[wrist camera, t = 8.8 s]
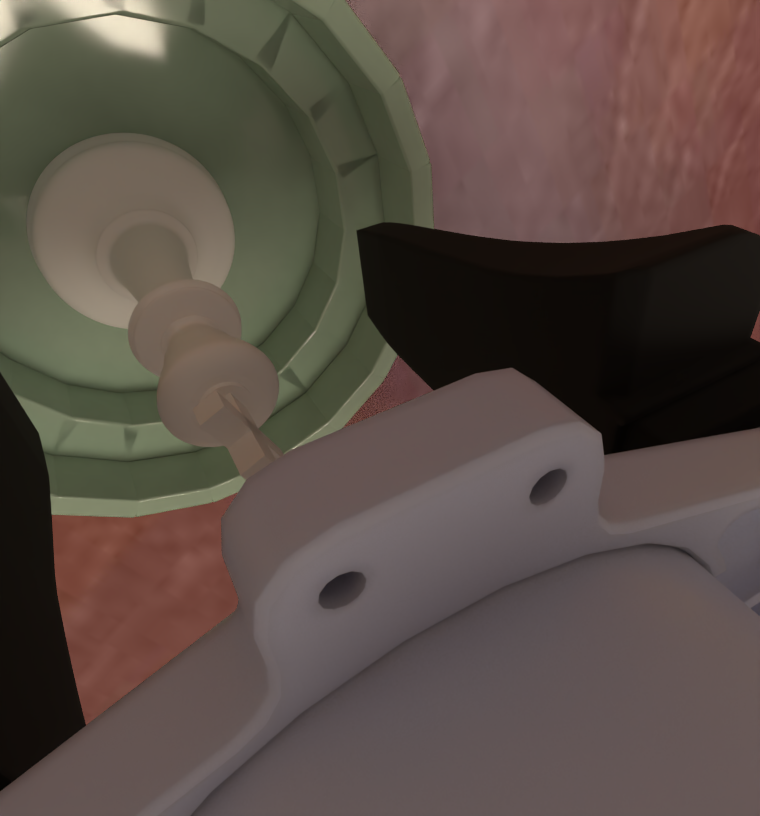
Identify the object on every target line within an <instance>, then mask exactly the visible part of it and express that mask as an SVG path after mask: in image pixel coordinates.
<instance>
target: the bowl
mask: <svg viewBox="0 0 760 816" xmlns="http://www.w3.org/2000/svg"><path fill="white" fill-rule="evenodd" d="M399 76H400V75H399V72H398V71H397V70H396V68H395V67H394V66H393V64H392V63H391V62H390V60H389V59H388V57H387V56H386V55H385V53H384V52H383V51H382V49H381V48H380V47H379V45H378V44H377V43H376V41H375V40H374V38H373V37H372V36H371V34H370V33H369V32H368V30H367V29H366V28H365V26H364V25H363V23H362V22H361V21H360V19H359V18H358V17H357V15H356V14H355V13H354V11H353V10H352V9H351V7H350V6H349V4H348V3H347V2H346V0H0V372H1V374H2V376H3V377H4V379H5V380H6V382H7V384H8V385H9V387H10V388H11V390H12V391H13V393H14V395H15V396H16V398H17V399H18V401H19V402H20V404H21V406H22V407H23V409H24V410H25V412H26V414H27V415H28V417H29V418H30V420H31V421H32V423H33V425H34V426H35V428H36V429H37V431H38V433H39V435H40V439H41V443H42V447H43V451H44V455H45V460H46V464H47V469H48V473H49V482H50V496H51V513H52V515H75V516H103V517H131V518H133V517H135V516H136V517H139V516H144V515H150V514H155V513H160V512H166V511H171V510H176V509H181V508H187V507H192V506H197V505H202V504H208V503H211V502H212V501H213V502H216V501H218V500H221V499H223V498H225V497H228V496H230V495H232V494H235V493H237V492H239V491H240V489H241V487H242V486H243V484H244V483H245V481H246V479H244V478H243V477H242V476H241V475H240V473H239V471H238V469H237V467H236V465H235V463H234V461H233V459H232V457H231V455H230V453H229V451H228V449H227V448H226V447H225V446H219V447H201V446H195V445H192V444H189V443H186V442H184V441H182V440H180V439H178V438H177V437H175V436H174V435H173V434H172V433H171V432H170V431H169V430H168V429H167V428H166V427H165V425H164V424H163V422H162V420H161V418H160V416H159V413H158V408H157V388H158V382H159V378H160V377H158V376H156V375H155V374H153V373H152V372H150V371H149V370H147V369H146V368H145V367H144V366H142V365H141V364H140V363H139V361H138V360H137V359H136V357H135V356H134V354H133V352H132V350H131V348H130V345H129V341H128V329H123V328H117V327H113V326H109V325H105V324H102V323H100V322H97V321H95V320H92V319H90V318H88V317H86V316H84V315H83V314H81V313H79V312H78V311H76V310H75V309H73V308H72V307H71V306H69V305H68V304H67V303H66V302H65V301H63V300H62V299H61V298H60V297H59V296H58V295H57V294H56V292H55V291H54V290H53V289H52V288H51V286H50V285H49V283H48V282H47V281H46V279H45V277H44V276H43V274H42V273H41V271H40V270H39V268H38V266H37V264H36V262H35V260H34V258H33V255H32V252H31V249H30V246H29V242H28V237H27V228H26V216H27V208H28V203H29V199H30V195H31V192H32V190H33V188H34V185H35V183H36V181H37V180H38V178H39V176H40V175H41V173H42V172H43V170H44V169H45V168H46V167H47V165H48V164H49V163H50V162H51V161H52V160H53V159H54V158H55V157H56V156H58V155H59V154H60V153H61V152H63V151H64V150H66V149H67V148H69V147H70V146H72V145H74V144H76V143H78V142H80V141H82V140H85V139H88V138H91V137H94V136H98V135H103V134H109V133H137V134H144V135H148V136H152V137H156V138H159V139H162V140H164V141H167V142H169V143H171V144H173V145H175V146H177V147H179V148H181V149H182V150H184V151H186V152H187V153H188V154H190V155H191V156H193V157H194V158H195V159H196V160H197V161H198V162H200V163H201V164H202V165H203V166H204V167H205V168H206V170H207V171H208V172H209V173H210V174H211V176H212V177H213V178H214V180H215V181H216V183H217V184H218V186H219V188H220V189H221V191H222V193H223V195H224V198H225V200H226V202H227V205H228V207H229V210H230V213H231V216H232V220H233V225H234V232H235V249H234V256H233V261H232V265H231V268H230V271H229V273H228V275H227V278H226V280H225V281H224V283H223V285H222V286H221V288H220V289H222V290H223V291H224V292H226V293H227V294H228V295H229V296H230V297H231V299H232V300H233V301H234V303H235V304H236V306H237V308H238V311H239V314H240V317H241V340H243V341H245V342H247V343H249V344H251V345H253V346H255V347H256V348H258V349H259V350H260V351H262V352H263V353H264V354H265V355H266V356H267V357H268V358H269V359H270V361H271V362H272V364H273V365H274V367H275V369H276V372H277V375H278V380H279V394H278V399H277V402H276V405H275V407H274V409H273V411H272V413H271V415H270V416H269V418H268V419H267V420H266V421H265V423H264V424H263V425H262V426H261V427H260V428H259V430H260V431H261V432H262V433H263V434H265V435H266V436H267V437H268V438H269V439H270V440H271V441H272V442H273V443H274V444H275V445H277V446H278V447H279V448H280V449H281V451H282V452H283V454H286V453H287V452H289V451H290V450H292V449H295V448H297V447H299V446H302V445H304V444H307V443H309V442H311V441H314V440H316V439H319V438H321V437H323V436H326V435H328V434H331V433H333V432H336V431H338V430H340V429H342V428H343V427H344V426H345V425H346V423H347V422H348V421H349V420H350V419H351V418H352V417H353V415H354V414H355V413H356V412H357V411H358V410H359V409H360V407H361V406H362V405H363V404H364V403H365V402H366V401H367V399H368V398H369V397H370V396H371V395H372V394H373V393H374V391H375V390H376V389H377V388H378V387H379V386H380V385H381V383H382V382H383V381H384V378H386V376H387V374H388V372H389V370H390V368H391V366H392V365H393V363H394V361H395V359H396V357H397V355H398V354H397V353H396V352H395V351H394V350H393V349H392V348H391V347H390V346H389V345H388V343H387V342H386V341H385V339H384V338H383V337H382V335H381V334H380V333H379V331H378V330H377V328H376V327H375V325H374V324H373V322H372V321H371V320H370V318H369V317H368V315H367V307H366V300H365V292H364V285H363V277H362V270H361V262H360V255H359V247H358V240H357V232H356V230H359V229H362V228H366V227H369V226H372V225H375V224H378V223H382V222H393V223H402V224H409V225H415V226H421V227H426V228H432V229H434V216H433V194H432V171H431V163H430V159H429V156H428V153H427V150H426V147H425V145H424V142H423V139H422V136H421V133H420V130H419V127H418V124H417V121H416V118H415V115H414V113H413V110H412V107H411V104H410V101H409V98H408V95H407V92H406V89H405V86H404V83H403V81H402V78H401V77H399Z"/></svg>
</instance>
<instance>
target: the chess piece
mask: <svg viewBox="0 0 760 816" xmlns="http://www.w3.org/2000/svg"><path fill="white" fill-rule="evenodd" d="M26 228H27V237H28V242H29V246H30V249H31V252H32V255H33V258H34V260H35V262H36V264H37V266H38V268H39V270H40V271H41V273H42V274H43V276H44V277H45V279H46V281H47V282H48V283H49V285H50V286H51V288H52V289H53V290H54V291H55V292H56V294H57V295H58V296H59V297H60V298H61V299H62V300H63V301H65V302H66V303H67V304H68V305H69V306H71V307H72V308H73V309H75V310H76V311H78V312H79V313H81V314H83V315H84V316H86V317H88V318H90V319H92V320H95V321H97V322H100V323H102V324H105V325H109V326H113V327H117V328H123V329H128V341H129V345H130V348H131V350H132V352H133V354H134V356H135V357H136V359H137V360H138V361H139V363H140V364H141V365H142V366H144V367H145V368H146V369H147V370H149V371H150V372H152V373H153V374H155V375H156V376H158V377H160V378H159V382H158V388H157V408H158V413H159V416H160V418H161V420H162V422H163V424H164V425H165V427H166V428H167V429H168V430H169V431H170V432H171V433H172V434H173V435H174V436H175V437H177V438H178V439H180V440H182V441H184V442H186V443H189V444H192V445H195V446H201V447H219V446H225V447H226V448H227V449H228V451H229V453H230V455H231V457H232V459H233V461H234V463H235V465H236V467H237V469H238V471H239V473H240V475H241V476H242V477H243V478H244V479H246V480H247V479H248V478H249V477H251V476H252V475H254V474H255V473H257V472H258V471H260V470H262V469H263V468H265V467H266V466H268V465H269V464H271V463H272V462H274V461H275V460H277V459H278V458H280V457H281V456H283V455H284V454H283V452H282V451H281V449H280V448H279V447H278V446H277V445H275V444H274V443H273V442H272V441H271V440H270V439H269V438H268V437H267V436H266V435H265V434H263V433H262V432H261V431H260V430H259V428H260V427H261V426H262V425H263V424H264V423H265V421H266V420H267V419H268V418H269V416H270V415H271V413H272V411H273V409H274V407H275V405H276V402H277V399H278V394H279V380H278V375H277V372H276V369H275V367H274V365H273V364H272V362H271V361H270V359H269V358H268V357H267V356H266V355H265V354H264V353H263V352H262V351H260V350H259V349H258V348H256V347H255V346H253V345H251V344H249V343H247V342H245V341H243V340H241V317H240V314H239V311H238V308H237V306H236V304H235V303H234V301H233V300H232V299H231V297H230V296H229V295H228V294H227V293H226V292H224V291H223V290H222V289H220V288H221V286H222V285H223V283H224V281H225V280H226V278H227V275H228V273H229V271H230V268H231V265H232V261H233V256H234V249H235V232H234V225H233V220H232V216H231V213H230V210H229V207H228V205H227V202H226V200H225V198H224V195H223V193H222V191H221V189H220V188H219V186H218V184H217V183H216V181H215V180H214V178H213V177H212V176H211V174H210V173H209V172H208V171H207V170H206V168H205V167H204V166H203V165H202V164H201V163H200V162H198V161H197V160H196V159H195V158H194V157H193V156H191V155H190V154H188V153H187V152H186V151H184V150H182V149H181V148H179V147H177V146H175V145H173V144H171V143H169V142H167V141H164V140H162V139H159V138H156V137H152V136H148V135H144V134H137V133H109V134H103V135H98V136H94V137H91V138H88V139H85V140H82V141H80V142H78V143H76V144H74V145H72V146H70V147H69V148H67V149H66V150H64V151H63V152H61V153H60V154H59V155H58V156H56V157H55V158H54V159H53V160H52V161H51V162H50V163H49V164H48V165H47V167H46V168H45V169H44V170H43V172H42V173H41V175H40V176H39V178H38V180H37V181H36V183H35V185H34V188H33V190H32V192H31V195H30V199H29V203H28V208H27V216H26Z"/></svg>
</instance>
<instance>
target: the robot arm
mask: <svg viewBox="0 0 760 816" xmlns="http://www.w3.org/2000/svg"><path fill="white" fill-rule="evenodd" d="M356 232H357V240H358V247H359V255H360V262H361V270H362V277H363V285H364V292H365V300H366V307H367V315H368V317H369V318H370V320H371V321H372V322H373V324H374V325H375V327H376V328H377V330H378V331H379V333H380V334H381V335H382V337H383V338H384V339H385V341H386V342H387V343H388V345H389V346H390V347H391V348H392V349H393V350H394V351H395V352H396V353H397V354H398V355H399V356H400V357H401V358H402V359H403V360H404V361H405V362H406V363H407V365H408V366H409V367H410V368H411V369H412V370H413V371H414V372H416V373H417V374H418V375H419V376H420V377H421V378H422V379H423V380H424V381H425V382H426V383H427V384H428V385H429V386H430V387H431V388H432V389H433V390H434V391H432V392H429V393H427V394H425V395H422V396H420V397H417V398H415V399H413V400H410V401H408V402H405V403H403V404H401V405H398V406H396V407H393V408H391V409H388V410H386V411H384V412H381V413H379V414H376V415H374V416H372V417H369V418H367V419H364V420H362V421H360V422H357V423H355V424H352V425H350V426H348V427H345V428H343V429H340V430H338V431H336V432H333V433H331V434H328V435H326V436H323V437H321V438H319V439H316V440H314V441H311V442H309V443H307V444H304V445H302V446H299V447H297V448H295V449H292V450H290V451H289V452H287V453H286V454H284V455H283V456H281V457H280V458H278V459H277V460H275V461H274V462H272V463H271V464H269V465H268V466H266V467H265V468H263V469H262V470H260V471H258V472H257V473H255V474H254V475H252V476H251V477H249V478H248V479H247V480H246V481H245V483H244V484H243V486H242V487H241V489H240V491H239V492H238V494H237V495H236V497H235V498H234V500H233V501H232V503H231V504H230V506H229V507H228V509H227V510H226V512H225V514H224V515H223V517H222V518H221V532H222V556H223V559H224V561H225V564H226V566H227V569H228V572H229V574H230V577H231V580H232V582H233V585H234V587H235V590H236V593H237V595H238V599H239V600H238V605H237V608H236V610H235V611H234V612H233V613H232V614H230V615H229V616H228V617H226V618H225V619H224V620H223V621H221V622H220V623H219V624H217V625H216V626H215V627H213V628H212V629H211V630H210V631H208V632H207V633H206V634H204V635H203V636H202V637H200V638H199V639H198V640H197V641H195V642H194V643H193V644H191V645H190V646H189V647H187V648H186V649H185V650H184V651H182V652H181V653H180V654H178V655H177V656H176V657H174V658H173V659H172V660H171V661H169V662H168V663H167V664H165V665H164V666H163V667H161V668H160V669H159V670H158V671H156V672H155V673H154V674H152V675H151V676H150V677H148V678H147V679H146V680H145V681H143V682H142V683H141V684H139V685H138V686H137V687H135V688H134V689H133V690H132V691H130V692H129V693H128V694H126V695H125V696H124V697H122V698H121V699H120V700H119V701H117V702H116V703H115V704H113V705H112V706H111V707H109V708H108V709H107V710H106V711H104V712H103V713H102V714H100V715H99V716H98V717H96V718H95V719H94V720H93V721H91V722H90V723H89V724H87V725H86V724H85V720H84V716H83V712H82V708H81V704H80V700H79V696H78V691H77V687H76V683H75V678H74V674H73V669H72V665H71V660H70V656H69V651H68V646H67V642H66V637H65V632H64V627H63V622H62V617H61V612H60V606H59V601H58V596H57V589H56V580H55V569H54V550H53V532H52V513H51V496H50V482H49V473H48V469H47V464H46V460H45V455H44V451H43V447H42V443H41V439H40V435H39V433H38V431H37V429H36V428H35V426H34V425H33V423H32V421H31V420H30V418H29V417H28V415H27V414H26V412H25V410H24V409H23V407H22V406H21V404H20V402H19V401H18V399H17V398H16V396H15V395H14V393H13V391H12V390H11V388H10V387H9V385H8V384H7V382H6V380H5V379H4V377H3V376H2V374H1V372H0V816H760V342H758V341H756V340H754V339H752V338H750V337H751V334H752V331H753V328H754V325H755V323H756V320H757V317H758V314H759V311H760V236H759V235H758V234H755V233H752V232H749V231H747V230H744V229H741V228H739V227H736V226H733V225H719V226H714V227H708V228H703V229H697V230H692V231H686V232H680V233H675V234H669V235H663V236H656V237H647V238H639V239H630V240H620V241H607V242H585V243H542V242H522V241H510V240H501V239H493V238H486V237H478V236H472V235H466V234H460V233H454V232H448V231H443V230H437V229H432V228H426V227H421V226H415V225H409V224H402V223H393V222H382V223H378V224H375V225H372V226H369V227H366V228H362V229H359V230H356Z"/></svg>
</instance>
